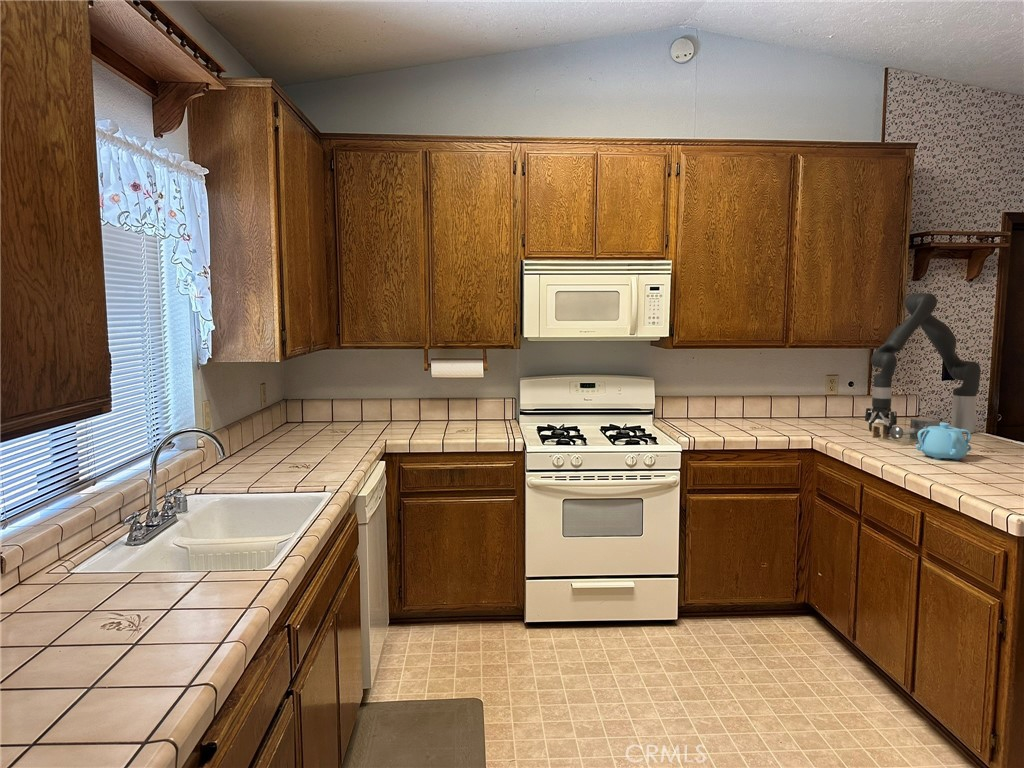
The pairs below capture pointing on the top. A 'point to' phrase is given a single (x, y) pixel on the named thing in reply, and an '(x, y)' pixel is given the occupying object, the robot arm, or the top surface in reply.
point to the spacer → (877, 430)
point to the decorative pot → (944, 442)
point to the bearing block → (913, 437)
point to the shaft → (902, 431)
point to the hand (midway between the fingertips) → (880, 432)
